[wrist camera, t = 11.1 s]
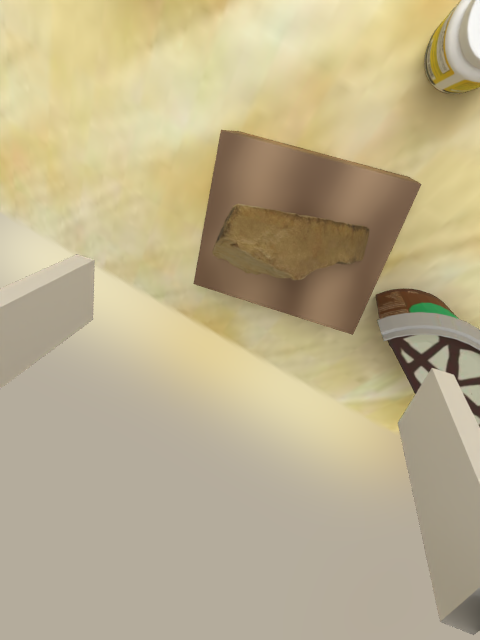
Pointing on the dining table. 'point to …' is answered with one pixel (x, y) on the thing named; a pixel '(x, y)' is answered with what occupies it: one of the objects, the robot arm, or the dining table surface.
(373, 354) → the dining table surface
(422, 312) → the food container
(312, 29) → the dining table surface
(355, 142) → the dining table surface
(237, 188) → the walnut block
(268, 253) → the rock
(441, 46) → the supplement bottle
